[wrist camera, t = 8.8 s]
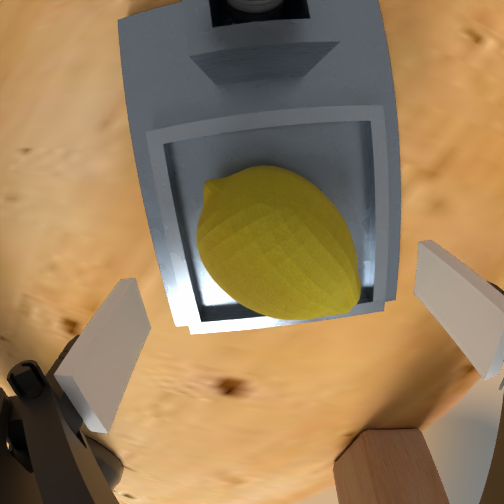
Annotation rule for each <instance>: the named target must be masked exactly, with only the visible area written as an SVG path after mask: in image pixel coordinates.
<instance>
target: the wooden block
mask: <svg viewBox="0 0 504 504" xmlns="http://www.w3.org/2000/svg"><path fill="white" fill-rule="evenodd" d="M333 473H334V479H335V484H336V490H337V495H338V502H339V504H449V501H448V498H447V495H446V492H445V490H444V487H443V484H442V482H441V479H440V476H439V474H438V471H437V469H436V466H435V464H434V461H433V459H432V456H431V454H430V451H429V449H428V447H427V444H426V441H425V439H424V437H423V434H422V432H421V431H420V430H418V429H397V430H367V431H364V432H362V433H361V434H360V435H359V436H358V438H357V439H356V440H355V441H354V442H353V443H352V445H351V446H350V447H349V448H348V449H347V450H346V451H345V453H344V454H343V455H342V456H341V457H340V458H339V459H338V460H337V461H336V462H335V463H334V467H333Z"/></svg>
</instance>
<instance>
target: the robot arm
mask: <svg viewBox="0 0 504 504" xmlns="http://www.w3.org/2000/svg"><path fill="white" fill-rule="evenodd" d="M414 294H415V295H416V296H417V298H418V299H419V300H420V301H421V302H422V303H423V304H424V306H425V307H426V308H427V309H428V310H429V311H430V313H431V314H432V315H433V316H434V317H435V319H436V320H437V321H438V322H439V323H440V325H441V326H442V327H443V328H444V329H445V331H446V332H447V333H448V334H449V336H450V337H451V338H452V339H453V340H454V342H455V343H456V344H457V345H458V347H459V348H460V349H461V351H462V352H463V353H464V354H465V356H466V357H467V358H468V360H469V361H470V362H471V363H472V365H473V366H474V367H475V369H476V370H477V371H478V373H479V374H480V375H481V377H482V378H483V379H484V380H486V379H488V378H490V377H493V376H495V375H498V374H499V372H500V370H501V367H502V365H503V362H504V291H503V290H502V289H500V288H499V287H498V286H497V285H495V284H493V283H490V282H488V281H486V280H484V279H483V278H482V277H481V276H479V275H478V274H477V273H475V272H474V271H473V270H472V269H470V268H469V267H468V266H466V265H465V264H464V263H462V262H461V261H460V260H459V259H457V258H456V257H455V256H453V255H452V254H450V253H449V252H448V251H446V250H445V249H444V248H442V247H441V246H439V245H438V244H437V243H435V242H434V241H432V240H427V241H420V242H418V257H417V269H416V279H415V288H414ZM150 329H151V326H150V323H149V320H148V317H147V314H146V311H145V308H144V305H143V302H142V298H141V295H140V292H139V289H138V285H137V282H136V279H135V278H128V279H121V280H120V281H119V282H118V283H117V285H116V286H115V287H114V289H113V290H112V291H111V293H110V294H109V295H108V297H107V298H106V300H105V301H104V302H103V304H102V305H101V306H100V308H99V309H98V310H97V312H96V313H95V315H94V316H93V317H92V319H91V320H90V322H89V323H88V324H87V326H86V327H85V329H84V330H83V332H82V333H81V334H80V335H77V336H76V337H74V338H73V339H72V340H71V341H70V342H68V344H67V345H66V347H65V348H64V350H63V352H61V354H60V355H59V357H58V359H57V360H56V361H55V363H54V364H53V366H52V367H51V369H50V370H49V372H48V373H47V375H46V376H44V374H43V373H42V371H41V369H40V367H39V366H38V364H37V362H35V361H33V360H27V361H23V362H21V363H19V364H17V365H15V366H14V367H13V368H12V369H11V370H10V372H9V373H8V375H7V381H8V382H9V384H10V386H11V387H12V389H13V390H14V392H15V393H16V395H17V396H11V397H8V396H7V395H6V393H5V392H4V390H3V389H2V388H1V387H0V504H119V502H118V500H117V499H116V497H115V495H114V494H113V492H112V490H113V489H114V488H115V486H116V485H117V484H118V483H119V482H120V480H121V477H122V473H123V465H122V464H121V462H120V461H119V460H118V458H117V457H116V456H115V455H114V454H112V453H111V452H110V451H109V450H107V449H106V448H105V447H103V446H102V445H100V444H99V443H97V442H95V441H94V440H92V439H90V438H89V437H87V436H85V435H84V434H83V433H82V431H81V430H80V427H81V424H82V422H83V421H84V423H85V424H86V426H87V427H88V428H89V430H90V431H92V432H99V433H109V431H110V428H111V425H112V423H113V420H114V417H115V415H116V412H117V409H118V407H119V404H120V402H121V399H122V397H123V394H124V392H125V389H126V387H127V384H128V382H129V379H130V377H131V374H132V372H133V369H134V367H135V364H136V362H137V360H138V357H139V355H140V352H141V350H142V348H143V345H144V343H145V341H146V338H147V336H148V334H149V331H150ZM503 386H504V379H503V381H502V383H501V385H500V388H499V390H501V389H502V387H503ZM6 441H7V442H8V444H9V449H8V447H7V443H6ZM479 504H504V396H503V404H502V411H501V418H500V424H499V429H498V435H497V440H496V445H495V450H494V454H493V458H492V462H491V467H490V470H489V474H488V477H487V481H486V484H485V488H484V491H483V494H482V497H481V500H480V503H479Z"/></svg>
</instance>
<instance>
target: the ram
mask: <svg viewBox="0 0 504 504" xmlns="http://www.w3.org/2000/svg"><path fill="white" fill-rule="evenodd" d="M226 1H227V5H228V10H229V14H230V17H231V19H232V20H233V21H234V22H235V23H236V24H242V23H251V22H260V21H272V20H278V19H279V17H280V15H281V11H282V7H283V3H284V0H226Z"/></svg>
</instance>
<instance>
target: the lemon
mask: <svg viewBox="0 0 504 504" xmlns="http://www.w3.org/2000/svg"><path fill="white" fill-rule="evenodd" d="M203 196H204V202H203V208H202V212H201V215H200V218H199V221H198V225H197V230H196V242H197V248H198V252H199V255H200V259H201V261H202V263H203V265H204V267H205V269H206V271H207V272H208V273H209V275H210V276H211V278H212V279H213V280H214V281H215V283H216V284H217V285H218V286H219V287H220V288H221V289H222V290H223V291H224V292H225V293H227V294H228V295H229V296H230V297H231V298H233V299H234V300H235V301H237V302H238V303H240V304H241V305H243V306H245V307H247V308H249V309H251V310H253V311H255V312H257V313H260V314H262V315H265V316H268V317H271V318H275V319H281V320H308V319H315V318H319V317H324V316H331V315H341V314H347V313H348V312H349V311H350V310H351V309H352V308H353V307H354V306H355V305H356V304H357V302H358V301H359V299H360V294H361V282H360V279H359V274H358V268H357V254H356V250H355V246H354V242H353V239H352V236H351V233H350V231H349V228H348V226H347V224H346V222H345V220H344V218H343V217H342V215H341V214H340V212H339V211H338V209H337V208H336V206H335V205H334V204H333V203H332V202H331V201H330V199H329V198H328V197H327V196H326V195H325V194H324V193H323V192H322V191H321V190H320V189H318V188H317V187H316V186H315V185H314V184H312V183H311V182H310V181H308V180H307V179H305V178H303V177H302V176H300V175H298V174H296V173H294V172H292V171H289V170H286V169H283V168H279V167H276V166H265V165H262V166H255V167H250V168H247V169H245V170H242V171H240V172H238V173H235V174H233V175H230V176H228V177H224V178H218V179H210V180H207V181H206V182H205V183H204V187H203Z"/></svg>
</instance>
